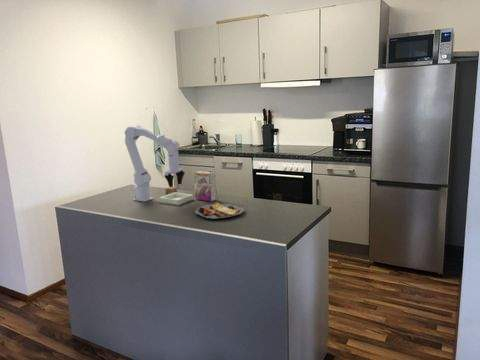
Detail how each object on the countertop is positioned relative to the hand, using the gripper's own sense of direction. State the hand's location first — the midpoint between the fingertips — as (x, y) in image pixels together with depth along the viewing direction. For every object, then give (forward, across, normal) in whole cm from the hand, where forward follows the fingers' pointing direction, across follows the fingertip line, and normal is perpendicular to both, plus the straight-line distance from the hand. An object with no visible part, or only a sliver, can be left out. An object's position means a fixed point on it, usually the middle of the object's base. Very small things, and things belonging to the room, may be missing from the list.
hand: (175, 185), depth 231 cm
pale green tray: (+9, 0, 0) cm, 9 cm away
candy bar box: (+10, +10, -14) cm, 20 cm away
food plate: (+10, -9, -37) cm, 39 cm away
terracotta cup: (+10, +16, -5) cm, 19 cm away
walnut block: (+10, +9, +12) cm, 18 cm away
